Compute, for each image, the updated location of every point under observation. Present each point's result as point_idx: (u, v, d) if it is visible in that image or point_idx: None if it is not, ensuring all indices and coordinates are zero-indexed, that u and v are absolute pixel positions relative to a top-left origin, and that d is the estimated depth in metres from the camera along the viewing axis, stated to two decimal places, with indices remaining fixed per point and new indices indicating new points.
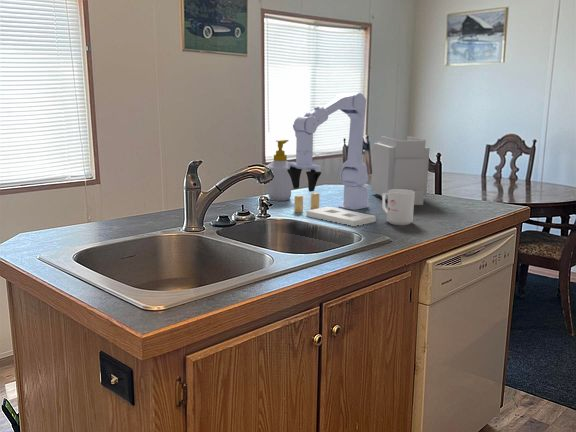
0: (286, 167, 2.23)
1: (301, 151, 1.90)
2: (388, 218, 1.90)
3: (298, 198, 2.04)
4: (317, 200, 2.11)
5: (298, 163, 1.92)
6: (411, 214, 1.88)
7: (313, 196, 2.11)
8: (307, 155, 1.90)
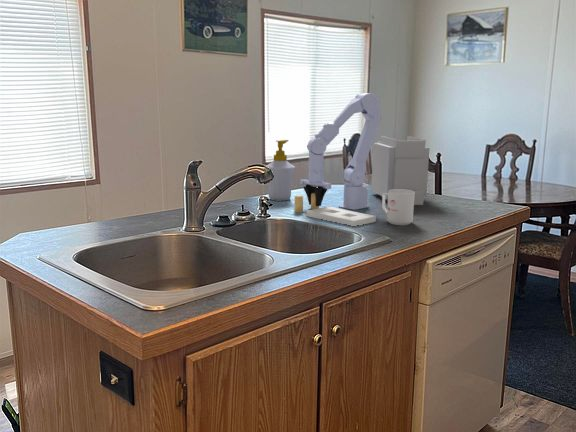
0: (286, 167, 2.23)
1: (310, 170, 2.08)
2: (388, 218, 1.90)
3: (298, 198, 2.04)
4: None
5: (310, 181, 2.09)
6: (411, 214, 1.88)
7: (313, 196, 2.11)
8: (319, 173, 2.08)
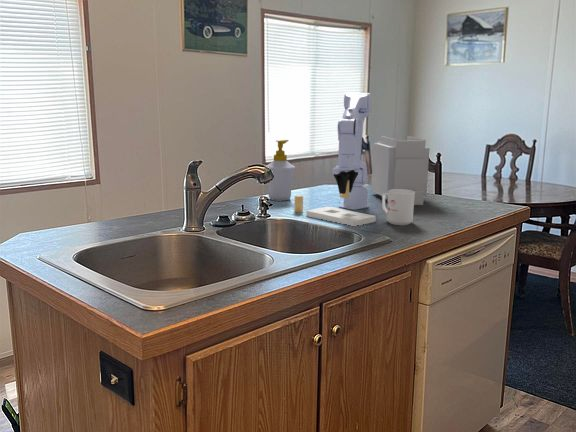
0: (286, 167, 2.23)
1: (348, 154, 1.88)
2: (388, 218, 1.90)
3: (298, 198, 2.04)
4: None
5: None
6: (411, 214, 1.88)
7: None
8: (340, 157, 1.90)
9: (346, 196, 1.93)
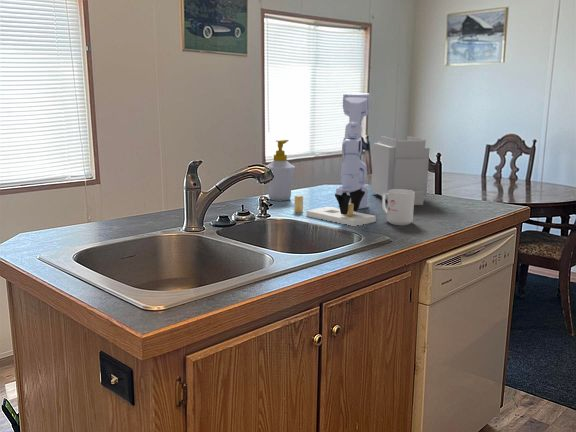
0: (286, 167, 2.23)
1: (353, 174, 1.87)
2: (388, 218, 1.90)
3: (298, 198, 2.04)
4: None
5: None
6: (411, 214, 1.88)
7: None
8: (344, 177, 1.89)
9: None
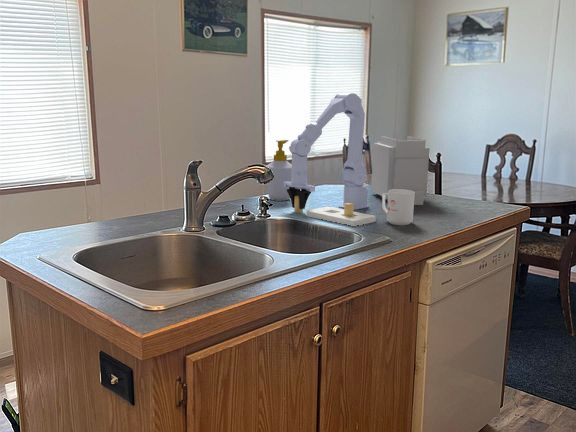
0: (286, 167, 2.23)
1: (294, 172, 2.02)
2: (388, 218, 1.90)
3: (298, 198, 2.04)
4: (345, 211, 1.92)
5: (293, 183, 2.03)
6: (411, 214, 1.88)
7: None
8: (302, 176, 2.02)
9: None
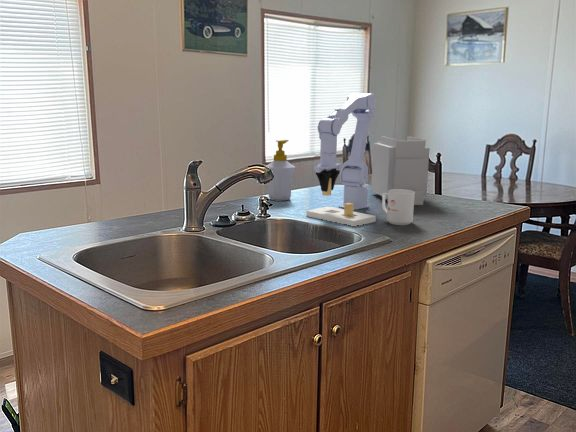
0: (286, 167, 2.23)
1: (327, 152, 1.93)
2: (388, 218, 1.90)
3: None
4: (345, 211, 1.92)
5: None
6: (411, 214, 1.88)
7: None
8: (321, 156, 1.94)
9: None
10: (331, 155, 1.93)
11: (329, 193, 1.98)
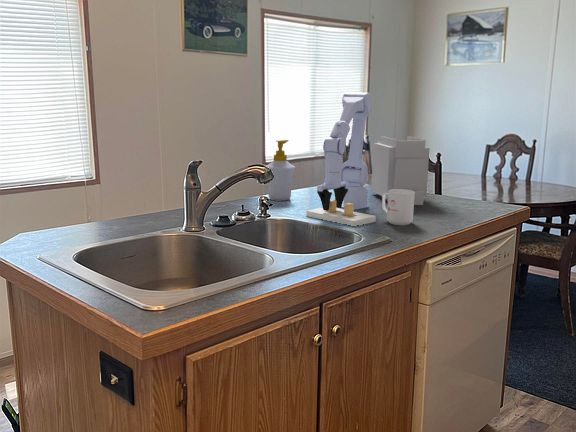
0: (286, 167, 2.23)
1: (333, 171, 1.93)
2: (388, 218, 1.90)
3: None
4: (345, 211, 1.92)
5: None
6: (411, 214, 1.88)
7: None
8: (326, 174, 1.95)
9: None
10: (335, 174, 1.93)
11: None
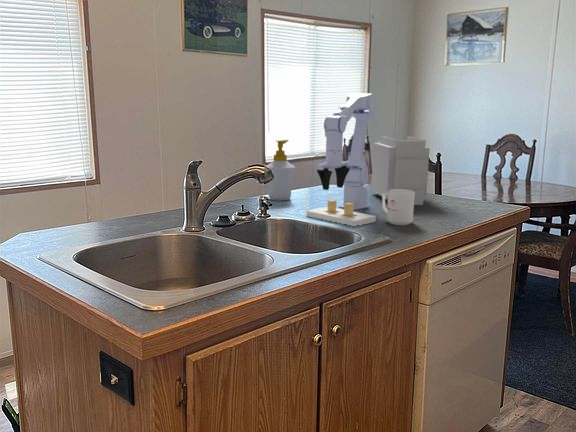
0: (286, 167, 2.23)
1: (334, 150, 1.91)
2: (388, 218, 1.90)
3: None
4: (345, 211, 1.92)
5: None
6: (411, 214, 1.88)
7: None
8: (327, 153, 1.93)
9: None
10: (336, 153, 1.92)
11: None
